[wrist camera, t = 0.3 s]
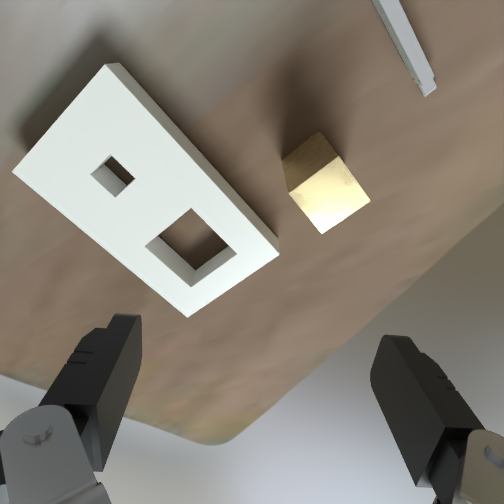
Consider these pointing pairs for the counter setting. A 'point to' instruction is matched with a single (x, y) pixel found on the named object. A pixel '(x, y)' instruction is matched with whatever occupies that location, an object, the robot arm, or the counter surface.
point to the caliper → (406, 43)
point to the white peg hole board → (144, 190)
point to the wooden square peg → (322, 183)
